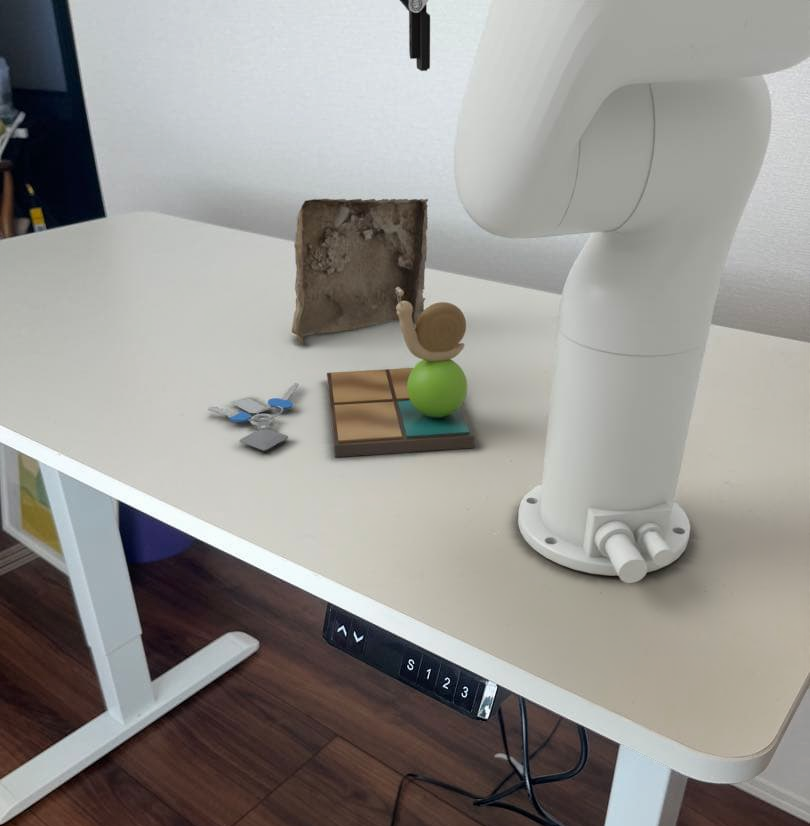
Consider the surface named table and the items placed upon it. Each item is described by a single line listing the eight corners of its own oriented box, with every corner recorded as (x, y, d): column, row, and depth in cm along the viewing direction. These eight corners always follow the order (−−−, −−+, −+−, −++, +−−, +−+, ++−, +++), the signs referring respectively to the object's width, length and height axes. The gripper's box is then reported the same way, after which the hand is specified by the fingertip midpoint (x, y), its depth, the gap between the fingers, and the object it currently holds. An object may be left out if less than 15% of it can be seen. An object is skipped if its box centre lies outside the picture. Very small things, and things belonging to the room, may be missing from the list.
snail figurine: (389, 408, 76) (386, 279, 70) (454, 398, 78) (457, 271, 71) (407, 433, 72) (405, 298, 65) (475, 422, 74) (480, 290, 67)
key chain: (285, 453, 72) (284, 445, 72) (192, 455, 72) (190, 447, 71) (300, 388, 83) (299, 380, 83) (219, 389, 83) (218, 381, 83)
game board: (474, 448, 73) (474, 433, 72) (335, 457, 72) (334, 443, 71) (445, 376, 86) (445, 363, 85) (327, 383, 85) (326, 370, 84)
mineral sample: (298, 347, 93) (286, 206, 85) (287, 335, 96) (274, 198, 88) (431, 324, 99) (431, 190, 90) (416, 314, 102) (416, 183, 93)
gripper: (374, -218, 55) (381, 75, 65) (623, -216, 56) (594, 69, 66) (365, -198, 61) (373, 66, 71) (590, -197, 63) (567, 61, 72)
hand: (479, 67), depth 68 cm, fingers open, 9 cm apart
